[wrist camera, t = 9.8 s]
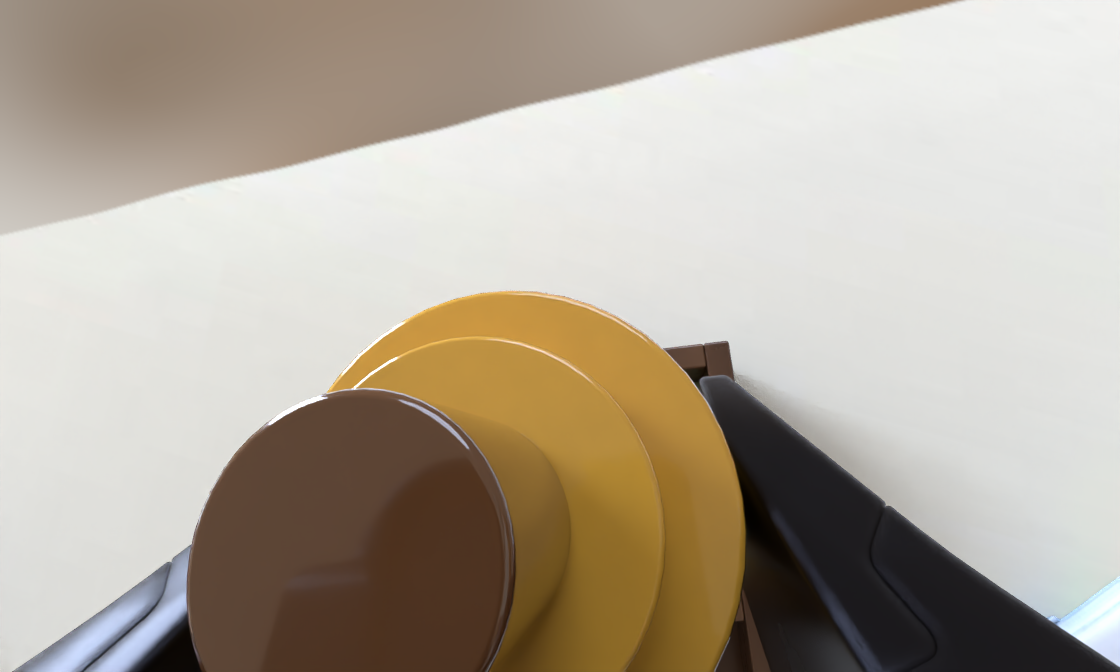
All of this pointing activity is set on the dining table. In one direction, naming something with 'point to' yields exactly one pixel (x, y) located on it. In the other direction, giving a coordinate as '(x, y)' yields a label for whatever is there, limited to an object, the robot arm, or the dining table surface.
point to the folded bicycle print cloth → (1097, 622)
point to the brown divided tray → (744, 654)
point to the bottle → (479, 508)
